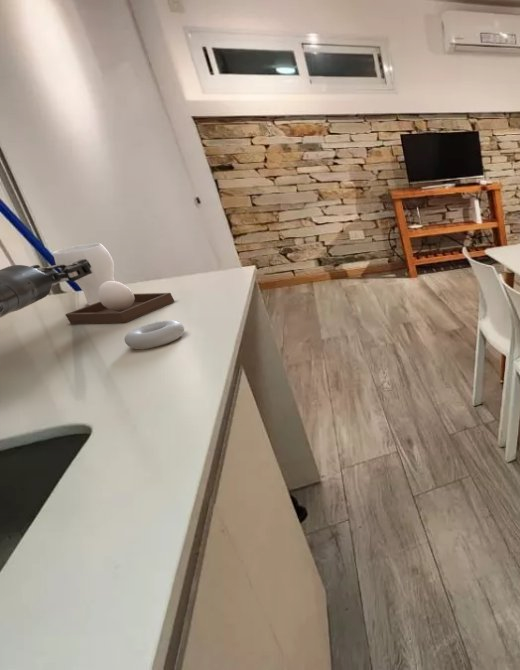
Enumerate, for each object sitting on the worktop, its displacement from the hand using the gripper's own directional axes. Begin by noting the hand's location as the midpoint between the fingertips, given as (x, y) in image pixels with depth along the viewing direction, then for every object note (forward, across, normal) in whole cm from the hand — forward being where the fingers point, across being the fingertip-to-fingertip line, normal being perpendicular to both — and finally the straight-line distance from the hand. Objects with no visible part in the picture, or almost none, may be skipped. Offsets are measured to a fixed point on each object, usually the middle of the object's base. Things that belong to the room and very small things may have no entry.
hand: (63, 266), depth 106 cm
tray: (+11, 0, +16) cm, 19 cm away
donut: (-16, -18, +16) cm, 29 cm away
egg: (+11, 0, +15) cm, 19 cm away
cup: (+26, +10, +16) cm, 32 cm away
